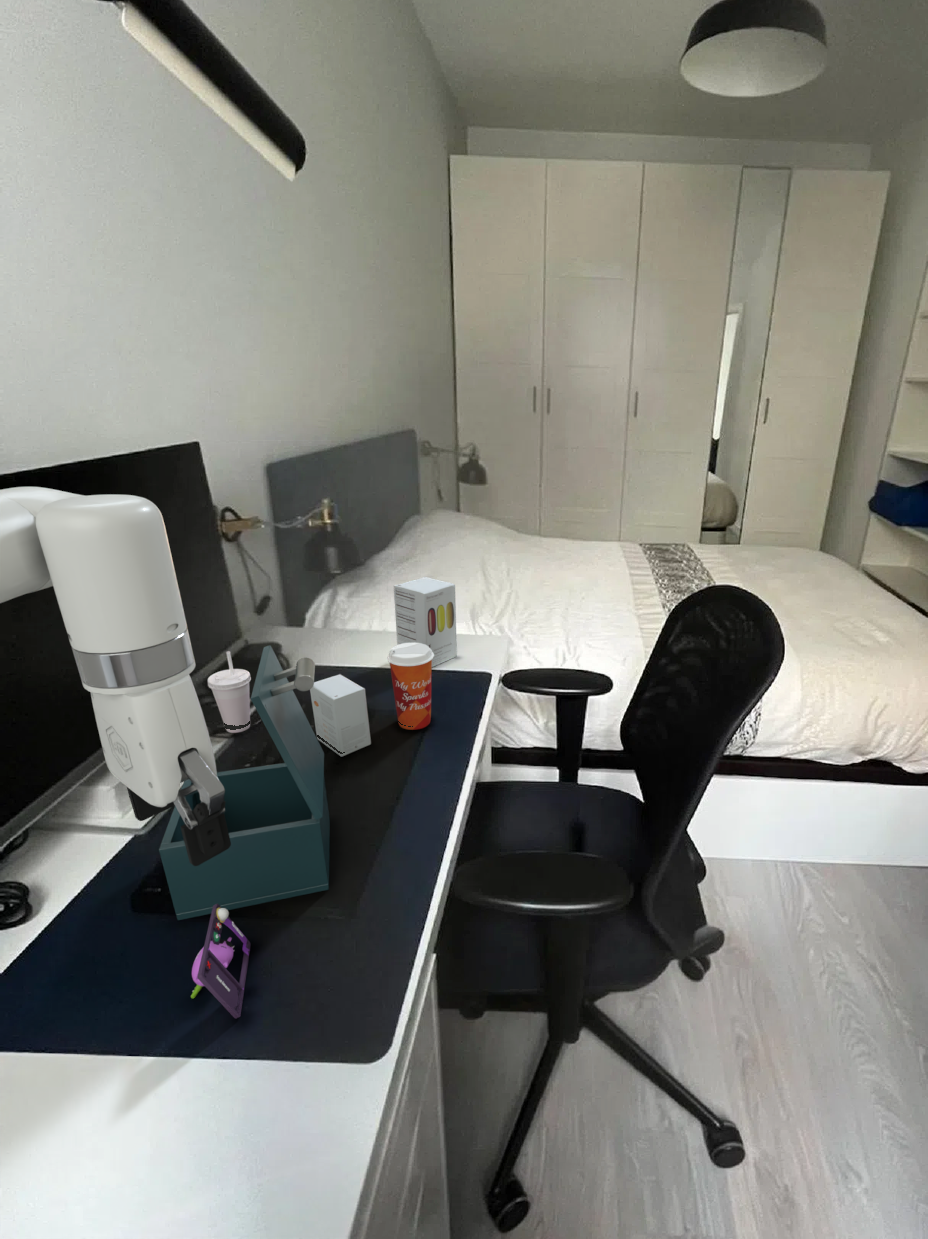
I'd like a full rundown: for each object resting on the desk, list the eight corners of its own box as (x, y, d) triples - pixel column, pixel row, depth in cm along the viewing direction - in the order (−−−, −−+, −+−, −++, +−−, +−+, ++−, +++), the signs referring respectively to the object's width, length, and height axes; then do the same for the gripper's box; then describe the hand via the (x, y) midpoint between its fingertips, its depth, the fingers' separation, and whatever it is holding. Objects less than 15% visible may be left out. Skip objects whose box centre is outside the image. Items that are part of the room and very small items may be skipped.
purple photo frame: (209, 971, 56) (224, 899, 64) (150, 1000, 56) (172, 923, 63) (247, 1014, 60) (257, 940, 67) (192, 1042, 59) (208, 963, 66)
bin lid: (250, 698, 63) (303, 680, 64) (263, 647, 75) (308, 632, 76) (315, 820, 71) (362, 802, 72) (318, 755, 83) (358, 741, 84)
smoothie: (261, 730, 107) (249, 655, 102) (219, 740, 104) (204, 663, 99) (255, 714, 112) (242, 642, 107) (214, 723, 109) (199, 649, 104)
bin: (177, 921, 70) (158, 849, 66) (200, 840, 82) (185, 776, 78) (329, 890, 75) (319, 822, 71) (329, 818, 87) (321, 757, 83)
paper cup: (396, 736, 107) (390, 661, 102) (389, 715, 114) (383, 644, 109) (441, 728, 110) (438, 655, 105) (432, 708, 117) (428, 638, 112)
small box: (371, 745, 104) (366, 688, 100) (340, 758, 101) (333, 699, 97) (346, 727, 109) (340, 673, 105) (316, 739, 105) (308, 683, 101)
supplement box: (427, 670, 132) (423, 594, 126) (396, 659, 137) (391, 585, 130) (458, 656, 140) (456, 583, 133) (428, 646, 144) (424, 575, 138)
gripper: (37, 645, 51) (92, 818, 57) (135, 707, 42) (187, 903, 48) (138, 620, 57) (178, 779, 63) (243, 669, 48) (278, 849, 54)
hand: (182, 833), depth 56 cm, fingers open, 9 cm apart
